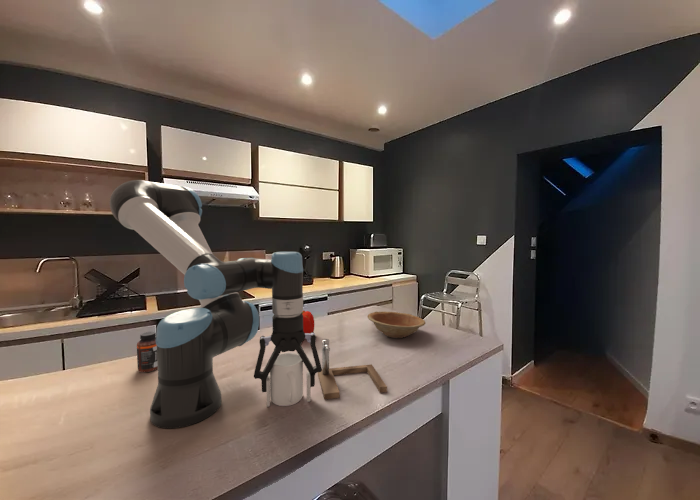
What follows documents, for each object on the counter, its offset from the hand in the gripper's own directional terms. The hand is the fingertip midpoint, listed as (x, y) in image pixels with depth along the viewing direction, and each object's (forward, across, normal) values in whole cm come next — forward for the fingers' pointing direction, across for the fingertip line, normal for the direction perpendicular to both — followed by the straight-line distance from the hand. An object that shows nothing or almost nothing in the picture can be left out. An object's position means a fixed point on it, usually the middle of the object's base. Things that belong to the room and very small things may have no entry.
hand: (288, 400), depth 77 cm
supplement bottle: (0, -42, +28) cm, 51 cm away
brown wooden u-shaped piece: (0, +17, +6) cm, 18 cm away
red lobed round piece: (0, +5, +46) cm, 46 cm away
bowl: (0, +45, +41) cm, 61 cm away
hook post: (-1, +11, +8) cm, 14 cm away
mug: (0, 0, 0) cm, 0 cm away
